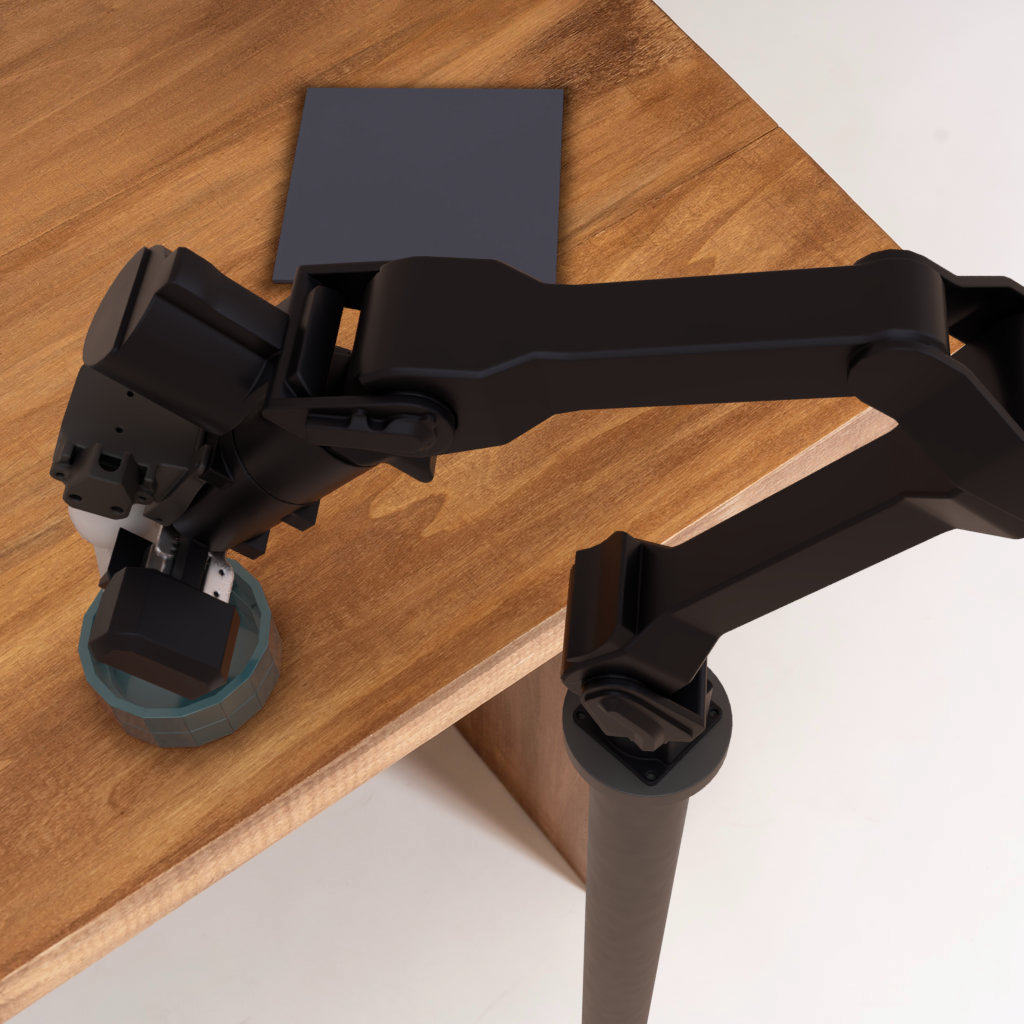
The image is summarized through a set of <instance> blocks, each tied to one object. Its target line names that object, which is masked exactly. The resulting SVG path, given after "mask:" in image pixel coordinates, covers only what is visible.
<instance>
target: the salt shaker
mask: <svg viewBox="0 0 1024 1024" xmlns="http://www.w3.org/2000/svg"><path fill="white" fill-rule="evenodd" d="M67 506H68V507H67V510H68V511H67V512H68V515H69V519H70V520H71V522H72V524H73V526H74V527H75V530H76V531H77V532H78V534H79V535H80V537H81V539H83V540H85V541H86V542H88V543H90V544H91V545H93V549H94V553H95V554H94V555H95V558H96V559H95V560H96V563H97V568H98V574H99V577H100V579H101V578H102V576H103V575H104V574H105V573H106V572H107V569H108V565H109V562H110V559H111V555H112V552H113V548H114V545H115V541H116V538H117V535H118V531H119V528H120V527H122V528H124V529H126V530H128V531H130V532H132V533H134V534H136V535H138V536H141V537H143V538H145V539H147V540H149V541H151V542H153V543H156V539H157V536H158V532H159V528H160V525H161V524H159V523H157V522H155V521H153V520H151V519H149V518H146V517H144V516H143V512H144V508H145V505H142V504H134V505H132V508H131V511H130V513H129V516H128V517H127V518H124V519H119V520H113V519H110V518H106V517H103V516H99V515H96V514H92V513H89V512H85V511H82V510H78V509H75V508H72V507H70V506H69V505H68V504H67ZM176 539H177V538H176ZM103 592H104V589H103Z"/></svg>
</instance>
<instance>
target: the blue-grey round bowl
mask: <svg viewBox="0 0 1024 1024" xmlns="http://www.w3.org/2000/svg"><path fill="white" fill-rule="evenodd" d="M207 560H208V558H207ZM226 560H227V561H228V562H229V564H230V565H231V566H232V568H233V570H234V580H233V585H232V589H231V593H230V597H229V601H228V604H231V605H233V606H235V607H236V610H237V612H238V615H239V617H240V619H241V621H240V625H239V630H238V634H237V638H236V643H235V647H234V652H233V656H232V660H231V665H230V669H229V673H228V678H227V682H226V684H224V685H222V686H221V687H219V688H217V689H215V690H213V691H211V692H209V693H207V694H205V695H202V696H200V697H198V698H196V699H194V700H190V699H188V698H185V697H183V696H180V695H178V694H176V693H173V692H171V691H169V690H166V689H164V688H161V687H159V686H157V685H154V684H152V683H150V682H147V681H145V680H142V679H140V678H138V677H135V676H133V675H131V674H128V673H126V672H123V671H121V670H119V669H116V668H114V667H112V666H109V665H107V664H104V663H102V662H100V661H97V660H95V658H94V656H93V654H92V652H91V650H90V648H89V646H88V641H89V637H90V634H91V631H92V627H93V624H94V620H95V617H96V613H97V610H98V606H99V603H100V600H101V596H102V593H103V589H102V588H100V589H99V591H98V592H97V594H96V596H94V597H95V598H94V599H93V600H92V602H91V604H90V605H89V607H88V608H87V610H86V612H85V613H84V614H83V617H82V622H81V623H82V624H81V628H80V634H79V639H78V645H77V653H78V657H79V660H80V664H81V667H82V671H83V675H84V678H85V681H86V683H87V684H88V686H89V688H90V689H91V690H92V692H93V694H94V695H95V697H96V699H97V700H98V702H99V703H100V705H101V706H102V708H103V710H104V711H105V713H106V714H107V715H108V716H109V717H110V718H111V719H112V720H113V721H114V722H115V723H116V724H117V725H118V726H119V728H121V729H122V730H123V732H124V733H126V735H128V736H129V737H132V738H134V739H137V740H140V741H142V742H145V743H148V744H150V745H152V746H155V747H158V748H198V747H201V746H203V745H206V744H208V743H211V742H214V741H216V740H219V739H221V738H224V737H227V736H230V735H232V734H234V733H235V732H236V731H238V730H239V729H240V728H242V726H243V725H245V724H246V723H247V722H248V721H249V720H251V719H252V718H253V717H254V716H255V715H256V714H257V713H259V711H261V710H262V709H263V708H264V706H265V704H266V703H267V701H268V699H269V697H270V695H271V693H272V692H273V690H274V689H275V687H276V685H277V683H278V682H279V681H278V680H279V679H280V677H281V667H282V657H283V640H282V638H281V635H280V632H279V630H278V627H277V624H276V621H275V618H274V615H273V613H272V609H271V607H270V605H269V603H268V599H267V597H266V594H265V591H264V589H263V586H262V584H261V583H260V581H259V580H258V579H257V578H256V576H254V575H253V574H252V573H251V572H250V571H249V570H247V569H246V567H245V566H243V565H242V564H241V563H240V562H239V561H237V560H236V559H233V558H230V557H227V556H226Z"/></svg>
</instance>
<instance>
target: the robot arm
mask: <svg viewBox="0 0 1024 1024" xmlns="http://www.w3.org/2000/svg"><path fill="white" fill-rule="evenodd" d="M344 309H349V310H354V311H359V314H358V320H357V325H356V329H355V334H354V339H353V344H352V349H349V348H347V347H342V346H339V345H337V341H338V336H339V331H340V327H341V322H342V317H343V314H344V313H343V312H344ZM89 324H90V325H89V327H88V329H87V331H86V335H85V338H84V343H83V347H82V357H81V359H82V363H83V364H82V365H81V366H80V368H79V370H78V372H77V375H76V378H75V381H74V384H73V387H72V390H71V393H70V396H69V400H68V401H67V405H66V408H65V411H64V414H63V417H62V420H61V423H60V428H59V432H58V436H57V440H56V443H55V447H54V451H53V455H52V462H51V465H50V469H49V473H48V474H49V476H50V477H51V478H52V479H54V480H56V481H58V482H61V483H63V485H64V490H63V492H62V500H63V501H64V503H65V504H66V505H67V506H68V505H69V506H70V507H72V508H75V509H78V510H82V511H85V512H89V513H92V514H96V515H99V516H103V517H106V518H110V519H113V520H119V519H124V518H127V517H128V516H129V513H130V511H131V508H132V505H134V504H142V505H145V508H144V512H143V516H144V517H146V518H149V519H151V520H153V521H155V522H157V523H159V524H161V525H160V528H159V532H158V536H157V539H156V543H153V542H151V541H149V540H147V539H145V538H143V537H141V536H138V535H136V534H134V533H132V532H130V531H128V530H126V529H124V528H122V527H120V528H119V531H118V535H117V538H116V541H115V545H114V548H113V552H112V555H111V559H110V562H109V565H108V569H107V572H106V573H105V574H104V575H103V576H102V578H100V579H99V581H98V585H97V586H98V587H99V588H100V589H101V588H102V589H104V592H103V593H102V596H101V600H100V603H99V606H98V610H97V613H96V617H95V620H94V624H93V627H92V631H91V634H90V637H89V641H88V646H89V648H90V650H91V652H92V654H93V656H94V658H95V660H97V661H100V662H102V663H104V664H107V665H109V666H112V667H114V668H116V669H119V670H121V671H123V672H126V673H128V674H131V675H133V676H135V677H138V678H140V679H142V680H145V681H147V682H150V683H152V684H154V685H157V686H159V687H161V688H164V689H166V690H169V691H171V692H173V693H176V694H178V695H180V696H183V697H185V698H188V699H190V700H194V699H196V698H198V697H200V696H202V695H205V694H207V693H209V692H211V691H213V690H215V689H217V688H219V687H221V686H222V685H224V684H226V682H227V678H228V673H229V669H230V665H231V660H232V656H233V652H234V647H235V643H236V638H237V634H238V630H239V625H240V621H241V619H240V617H239V615H238V612H237V610H236V607H235V606H233V605H231V604H228V601H229V597H230V593H231V589H232V585H233V580H234V570H233V568H232V566H231V565H230V564H229V562H228V561H227V560H226V557H227V554H228V551H229V550H231V551H233V552H235V553H237V554H239V555H241V556H243V557H245V558H247V559H250V560H252V561H256V560H257V559H258V558H260V557H262V556H264V555H265V554H266V551H267V546H268V542H269V537H270V533H271V529H273V528H275V527H276V526H278V525H279V524H282V523H285V524H287V526H291V527H292V528H294V529H296V530H298V531H299V532H302V533H303V532H305V531H307V530H308V529H311V528H312V527H314V526H316V524H317V518H318V514H319V508H320V503H321V500H322V499H323V498H325V497H326V496H328V495H329V494H332V493H333V492H334V491H335V492H336V490H338V489H340V488H341V487H343V486H345V485H347V484H349V483H350V482H352V481H353V480H355V479H357V478H358V477H360V476H362V475H364V474H365V473H367V472H368V471H370V470H372V469H374V468H375V467H377V466H379V465H380V464H388V465H389V466H392V467H393V468H395V469H397V470H399V471H401V472H402V473H403V474H406V475H407V476H409V477H411V478H413V480H416V481H418V482H420V483H422V484H428V483H432V482H433V480H434V479H435V472H436V465H437V458H438V456H445V455H451V454H457V453H464V452H469V451H476V450H483V449H489V448H494V447H495V448H497V447H501V446H505V445H507V444H509V443H511V442H513V441H514V440H516V439H518V438H519V437H521V436H523V435H524V434H527V432H529V431H530V430H532V429H534V428H535V427H537V426H539V425H540V424H542V423H543V422H545V421H547V420H548V419H550V418H551V417H553V416H556V415H562V414H569V413H574V412H580V411H593V410H596V411H597V410H615V409H634V408H637V409H638V408H653V407H673V406H674V407H675V406H677V407H678V406H694V405H695V406H696V405H715V404H735V403H736V404H737V403H755V402H756V403H757V402H774V401H775V402H777V401H793V400H794V401H795V400H797V401H799V400H816V399H835V398H854V397H855V398H856V399H857V400H858V401H860V402H861V403H863V404H865V405H867V406H868V407H870V408H872V409H874V410H876V411H878V412H880V413H881V414H884V415H885V416H887V417H889V418H891V419H892V420H894V421H895V422H896V423H897V425H895V427H893V428H892V429H891V430H890V431H889V430H888V431H887V432H885V433H884V434H882V435H880V436H878V437H876V438H874V439H873V440H871V441H869V442H867V443H865V444H864V445H862V446H860V447H857V448H856V449H854V450H853V451H850V452H849V453H847V454H845V455H843V456H841V457H840V458H837V459H835V460H834V461H832V462H830V463H829V464H826V465H825V466H823V467H821V468H819V469H817V470H815V471H813V472H811V473H809V474H808V475H806V476H804V477H802V478H801V479H799V480H797V481H795V482H793V483H791V484H789V485H787V486H785V487H784V488H782V489H780V490H778V491H776V492H774V493H772V494H771V495H769V496H767V497H765V498H763V499H762V500H760V501H758V502H756V503H754V504H752V505H750V506H749V507H746V508H745V509H743V510H741V511H739V512H737V513H736V514H734V515H732V516H730V517H728V518H726V519H724V520H723V521H721V522H718V523H717V524H715V525H713V526H711V527H709V528H708V529H706V530H703V531H702V532H700V533H698V534H696V535H695V536H693V537H691V538H689V539H688V540H685V541H684V542H681V543H679V544H677V545H673V546H671V545H667V544H666V545H665V544H662V543H659V542H653V541H650V540H649V541H648V540H646V539H642V538H637V537H634V536H633V535H631V534H629V533H628V532H626V531H624V530H615V531H614V532H613V533H611V535H609V536H608V537H607V538H605V539H604V540H603V541H601V542H600V543H597V544H595V545H593V546H590V547H586V548H582V549H578V550H576V551H575V555H574V563H573V565H572V566H571V568H570V569H569V576H568V587H567V596H566V608H565V619H564V631H563V642H562V653H561V662H560V663H561V664H560V673H559V676H560V680H561V683H562V684H563V686H565V687H566V688H567V689H569V690H570V691H572V692H574V693H575V694H577V695H579V696H580V702H581V704H580V705H579V706H578V707H577V708H576V709H575V710H574V712H573V721H574V722H575V723H576V724H577V725H578V726H579V727H580V728H581V729H582V730H584V731H585V732H586V733H587V734H588V735H589V736H590V737H592V738H593V739H594V740H595V741H596V742H597V743H598V744H600V745H601V746H602V747H603V748H604V749H605V750H606V751H608V752H609V753H610V754H611V755H612V756H613V757H614V758H616V759H617V760H618V761H619V762H620V763H621V764H623V765H624V766H625V767H626V768H627V769H628V770H629V771H631V772H632V773H633V774H634V775H635V776H636V777H637V778H639V779H640V780H641V781H642V782H643V783H644V784H645V785H647V786H651V787H652V786H655V785H657V784H658V783H659V782H660V781H661V780H662V779H663V778H664V777H665V776H666V775H667V774H668V773H669V772H670V771H671V770H672V769H673V768H674V767H675V766H676V765H677V764H678V763H679V762H680V761H681V760H682V759H683V758H684V757H685V756H686V755H687V754H688V753H689V751H690V750H691V749H692V748H693V747H694V746H695V745H696V744H697V743H698V742H699V741H700V740H701V739H702V738H703V737H704V736H705V735H706V734H707V733H708V732H709V731H710V730H711V729H712V728H713V727H714V726H715V725H716V724H717V723H718V722H719V721H720V720H721V718H722V709H721V708H720V707H719V706H718V705H717V704H716V703H714V702H713V701H712V700H711V695H712V689H713V684H712V683H711V682H710V681H709V680H708V679H707V666H708V657H709V655H710V654H711V652H712V651H713V649H714V648H715V646H716V644H717V643H718V642H719V640H720V638H721V637H722V636H724V635H725V634H727V633H729V632H731V631H733V630H736V629H738V628H740V627H743V626H744V625H746V624H749V623H751V622H753V621H756V620H757V619H759V618H763V617H764V616H766V615H768V614H770V613H773V612H775V611H777V610H779V609H782V608H784V607H786V606H788V605H790V604H793V603H794V602H796V601H799V600H801V599H803V598H805V597H808V596H809V595H812V594H813V593H816V592H818V591H821V590H823V589H825V588H827V587H829V586H832V585H833V584H836V583H838V582H840V581H842V580H844V579H848V578H849V577H851V576H853V575H855V574H857V573H860V572H862V571H864V570H866V569H868V568H870V567H872V566H875V565H877V564H879V563H882V562H884V561H886V560H888V559H890V558H892V557H895V556H897V555H899V554H901V553H903V552H906V551H907V550H910V549H911V548H914V547H916V546H919V545H921V544H923V543H925V542H928V541H930V540H932V539H934V538H936V537H938V536H940V535H943V534H945V533H948V532H951V531H953V530H962V531H967V532H972V533H976V534H977V533H978V534H983V535H988V536H993V537H999V538H1004V539H1010V540H1022V539H1024V285H1022V284H1021V283H1019V282H1017V281H1016V280H1015V279H1012V278H1011V277H1008V276H1006V275H957V274H954V273H953V272H951V271H950V270H948V269H947V268H945V267H943V266H941V265H940V264H938V263H936V262H935V261H934V260H931V259H930V258H929V257H927V256H925V255H923V254H920V253H918V252H915V251H912V250H909V249H897V248H887V249H883V250H878V251H873V252H871V253H869V254H867V255H865V256H862V257H861V258H859V259H857V260H856V261H855V262H853V264H850V265H849V264H847V265H834V266H833V265H832V266H820V267H807V268H806V267H805V268H793V269H792V268H791V269H780V270H779V269H777V270H764V271H749V272H736V273H735V272H734V273H724V274H723V273H720V274H719V273H718V274H708V275H707V274H705V275H692V276H691V275H690V276H679V277H678V276H677V277H664V278H652V279H650V278H649V279H635V280H623V281H621V280H620V281H606V282H593V283H579V284H578V283H577V284H573V283H571V284H570V283H556V284H554V283H545V282H543V281H541V280H539V279H537V278H535V277H533V276H531V275H529V274H527V273H525V272H523V271H521V270H519V269H517V268H515V267H513V266H511V265H509V264H507V263H505V262H503V261H500V260H496V259H481V258H460V257H439V256H412V257H407V258H402V259H397V260H388V261H369V262H350V263H331V264H313V265H301V266H298V268H297V269H296V273H295V277H294V282H293V283H292V285H291V290H290V293H289V295H288V296H287V297H285V298H284V299H282V301H280V302H279V303H278V304H277V305H274V304H273V303H271V302H269V301H267V300H266V299H264V298H263V297H261V296H260V295H258V294H256V293H254V292H253V291H251V290H250V289H248V288H246V287H245V286H243V285H242V284H240V283H238V282H236V281H235V280H234V279H232V278H230V277H229V276H227V275H226V274H224V273H223V272H222V271H220V270H219V268H217V267H216V265H214V264H213V263H211V262H210V261H209V260H207V259H206V258H204V257H202V256H200V255H199V254H197V252H194V251H193V250H191V249H189V248H188V247H186V246H178V247H177V248H176V249H175V250H173V251H172V250H171V249H169V248H167V247H166V246H164V245H162V244H155V245H152V246H151V247H147V246H146V245H144V246H142V247H141V248H140V249H139V250H138V251H136V253H134V255H133V256H132V257H131V258H130V259H128V261H127V262H126V264H125V265H124V266H123V267H122V268H121V270H120V271H119V272H118V274H117V275H116V277H115V278H114V279H113V281H112V283H111V284H110V286H109V288H108V289H107V291H106V293H105V294H104V295H103V298H102V299H101V301H100V302H99V305H98V307H97V309H96V311H95V313H94V315H93V318H92V320H91V322H90V323H89ZM950 337H952V338H953V339H955V340H956V341H958V342H960V343H962V344H964V345H963V346H961V347H960V348H959V349H958V350H956V351H955V352H954V353H952V354H951V344H950V343H951V342H950ZM176 538H177V539H176ZM207 558H208V560H207ZM712 711H715V712H716V713H717V714H718V715H717V716H712V715H710V712H712ZM579 714H584V715H585V718H583V719H580V718H578V717H577V716H578V715H579ZM649 774H652V775H654V776H655V779H653V780H650V779H648V778H647V776H648V775H649Z"/></svg>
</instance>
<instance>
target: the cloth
mask: <svg viewBox="0 0 1024 1024" xmlns="http://www.w3.org/2000/svg"><path fill="white" fill-rule="evenodd" d="M564 95H565V93H564V89H563V88H464V87H463V88H460V87H459V88H450V87H449V88H446V87H444V88H443V87H439V88H438V87H436V88H435V87H307V88H306V93H305V98H304V103H303V108H302V115H301V120H300V125H299V131H298V136H297V142H296V148H295V152H294V159H293V163H292V169H291V174H290V180H289V184H288V185H289V186H288V190H287V196H286V202H285V207H284V213H283V217H282V218H283V219H282V223H281V229H280V235H279V240H278V246H277V251H276V256H275V263H274V267H273V271H272V272H273V273H272V277H271V281H272V283H273V284H293V282H294V277H295V273H296V269H297V268H298V266H301V265H313V264H331V263H350V262H369V261H388V260H397V259H402V258H407V257H412V256H439V257H460V258H481V259H496V260H500V261H503V262H505V263H507V264H509V265H511V266H513V267H515V268H517V269H519V270H521V271H523V272H525V273H527V274H529V275H531V276H533V277H535V278H537V279H539V280H541V281H543V282H545V283H554V284H557V268H558V267H557V266H558V265H557V264H558V263H557V262H558V241H559V239H558V237H559V219H560V218H559V216H560V215H559V214H560V191H561V190H560V189H561V167H562V166H561V165H562V145H563V143H562V140H563V119H564V118H563V117H564Z"/></svg>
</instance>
